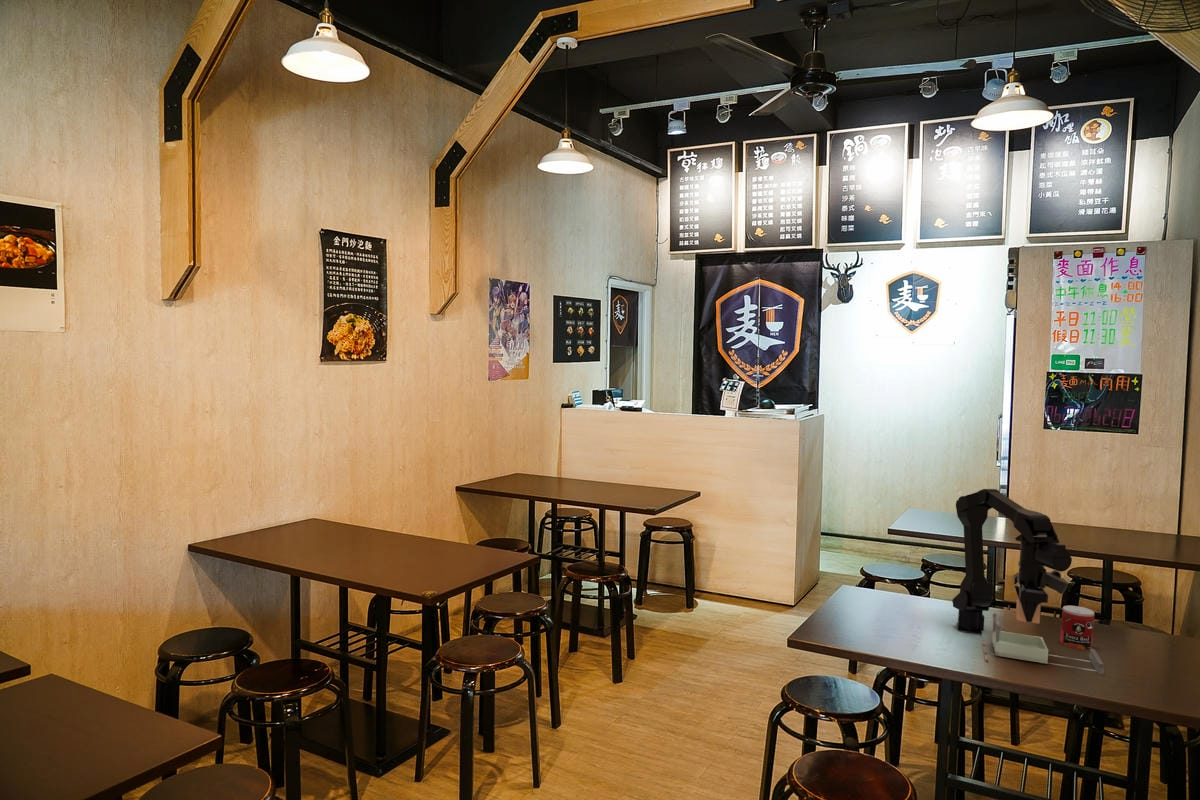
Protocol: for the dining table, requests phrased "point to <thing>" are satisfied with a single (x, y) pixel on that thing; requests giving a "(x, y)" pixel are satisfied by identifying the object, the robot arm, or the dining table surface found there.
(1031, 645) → the tray with handle
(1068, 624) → the canned food
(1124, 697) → the dining table surface
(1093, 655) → the track
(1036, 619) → the block
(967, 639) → the dining table surface
